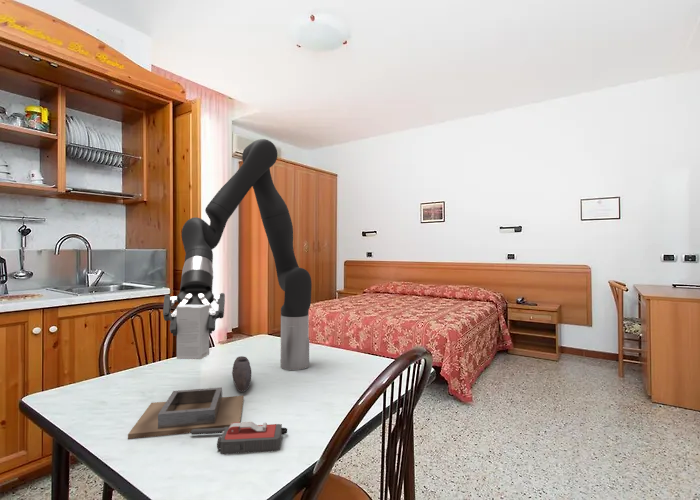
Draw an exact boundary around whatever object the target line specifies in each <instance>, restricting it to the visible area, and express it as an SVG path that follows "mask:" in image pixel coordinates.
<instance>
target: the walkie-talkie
mask: <svg viewBox="0 0 700 500" xmlns="http://www.w3.org/2000/svg"><path fill="white" fill-rule="evenodd" d="M190 434H191V435H209V434H213V435H215V434H222V435H221V436H219V437H218V438H217V441H216V448H217V450H220V451H219V454H220V455H231V454H232V455H233V454H248V453H250V454H251V453H266V452H277V451H280V450H281V444H282V436H283V435H285V434H288V428H287V427H283V425H282V424H281V423H276V424H267V422H263V424H256V423H254V422H253V421H242V422H241V421H240V422H234V423H231V425H230V426H229V427H224V428H209V429H193V430H191V433H190Z"/></svg>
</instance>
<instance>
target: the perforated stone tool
mask: <svg viewBox="0 0 700 500" xmlns="http://www.w3.org/2000/svg"><path fill="white" fill-rule="evenodd" d="M231 372H232V373H231V374H232V379H233V382H234V384H235V386H236V389H237V391H240V392H242V393H243V392H245V391H247V390H248V389H249V387H250V384H251V382H252V367H251V362H250V359H249V358H248V357H247V356H243V355H242V356H238V357H236V358H235V360H234V362H233V365H232V371H231Z"/></svg>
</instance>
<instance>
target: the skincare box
mask: <svg viewBox="0 0 700 500" xmlns="http://www.w3.org/2000/svg"><path fill="white" fill-rule="evenodd" d="M177 306H178V305H177ZM177 306H176V308H177V335H176V359H177V360H202V359H204V358H206V357H207V356H210V334H209V331H208V327H209V305H187V304H186V305H182V306H178V307H177Z"/></svg>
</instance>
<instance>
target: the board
mask: <svg viewBox="0 0 700 500" xmlns="http://www.w3.org/2000/svg"><path fill="white" fill-rule="evenodd" d="M244 396H245V395H234V396H222V400H221V404H220V407H219V410H218V414H217V417H216V421H215V423H213V424H202V425H191V426H180V427H169V428H159V429H158V414H159V412H160V411H161V409H162V408H163V406H164V405H165V403H166V401H158V402H155V401H154V402H151V403H150V404H149V405H148V407H147V408H146V409H145V411H144V412H143V413H142V414H141V415H140V417H139V419H138V420H137V422H136V423H134V425H133V426H132V428H131V429H130V431H129V432H128V434H127V439H128V440H132V439H142V438H151V437H152V438H153V437H154V438H155V437H161V436H162V437H164V436H173V435H182V434H184V435H185V434H191V430H193V429H209V428H224V427H229V426H230V425H231V423H234V422H241V420H242V413H243V406H244V399H245V398H244ZM211 403H212V402H204V403H191V404H179V405H177V406H176V408H175V410H174V411H178V410H190V409H202V408H210V406H211Z"/></svg>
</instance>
